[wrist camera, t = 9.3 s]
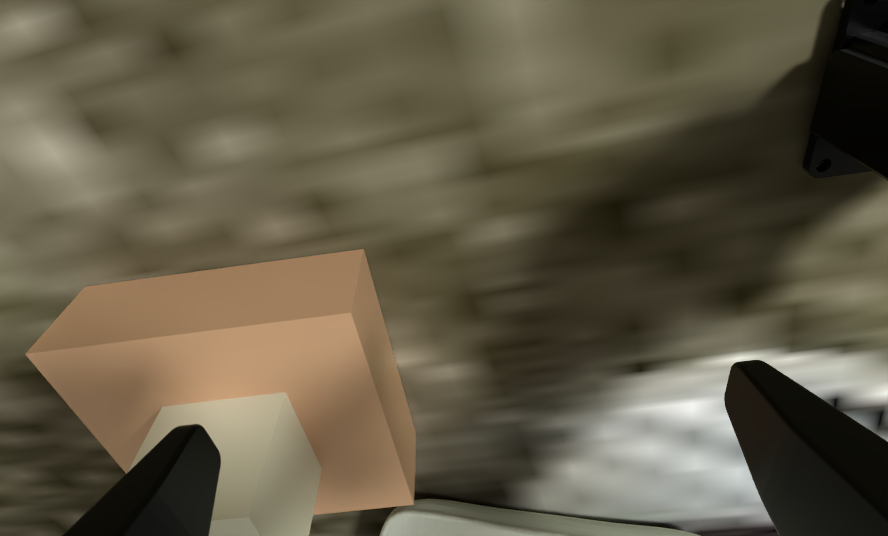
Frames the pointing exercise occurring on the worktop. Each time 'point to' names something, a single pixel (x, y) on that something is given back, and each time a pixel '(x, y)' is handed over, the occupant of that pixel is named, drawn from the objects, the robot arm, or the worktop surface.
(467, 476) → the worktop surface
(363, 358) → the stand
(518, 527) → the salad plate
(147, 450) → the block
